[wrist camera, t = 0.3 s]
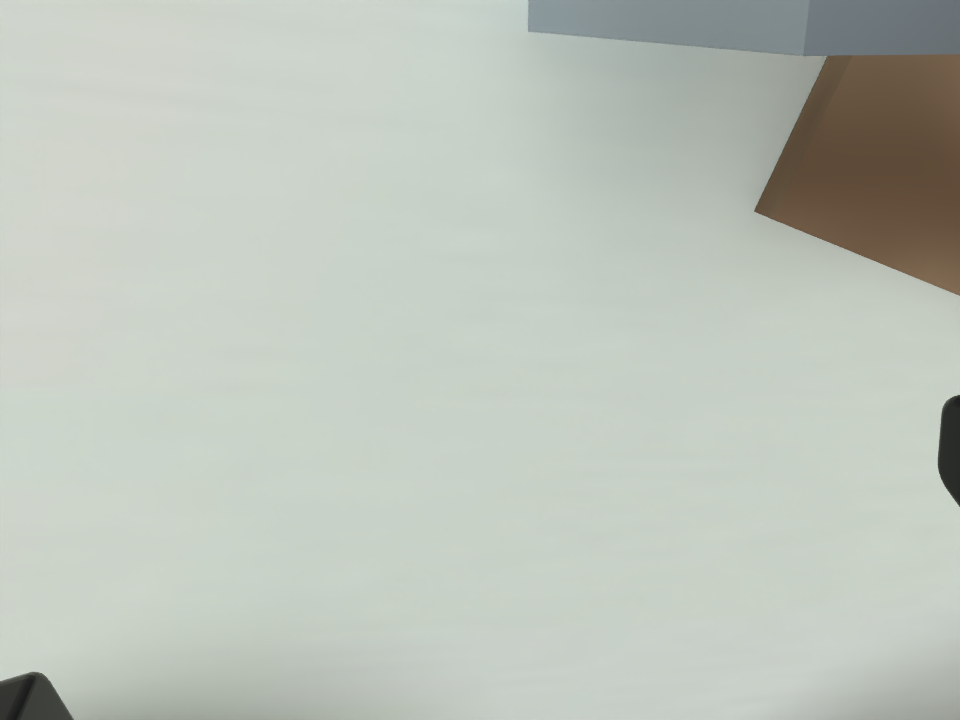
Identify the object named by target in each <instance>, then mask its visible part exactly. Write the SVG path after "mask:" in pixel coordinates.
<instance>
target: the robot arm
mask: <svg viewBox="0 0 960 720" xmlns="http://www.w3.org/2000/svg"><path fill="white" fill-rule="evenodd" d="M938 469H939V474H940V477H941V479H942V481H943V483H944V485H945V487H946V489H947V490H948V491H949V493H950V494H951V496H952V497H953V498H954V500H955V501H956V502H957V504H958V505H959V507H960V395H958V396H954V397H952V398H950V399H949V400H947V401H946V403H945V404H944V406H943V408H942V415H941V427H940V439H939V451H938ZM0 720H74V719H73V718H72V716H71V715H70V713H69V711H68V710H67V708H66V706H65V705H64V703H63V702H62V700H61V698H60V697H59V695H58V694H57V692H56V690H55V689H54V687H53V685H52V684H51V682H50V681H49V680H48V678H47V677H46V676H45V675H43V674H42V673H39V672H30V673H26V674H23V675H20V676H16V677H13V678H10V679H6V680H3V681H0Z"/></svg>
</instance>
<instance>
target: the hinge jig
mask: <svg viewBox="0 0 960 720" xmlns="http://www.w3.org/2000/svg"><path fill="white" fill-rule="evenodd" d="M754 211H755V212H757V213H759V214H762V215H764V216H766V217H769V218H771V219H773V220H776V221H778V222H781V223H783V224H786V225H788V226H790V227H793V228H795V229H798V230H800V231H803V232H805V233H808V234H810V235H813V236H815V237H817V238H820V239H822V240H825V241H827V242H830V243H832V244H835V245H837V246H839V247H842V248H844V249H847V250H849V251H852V252H854V253H857V254H859V255H861V256H864V257H866V258H869V259H871V260H874V261H876V262H879V263H881V264H884V265H886V266H888V267H891V268H893V269H896V270H898V271H901V272H903V273H906V274H908V275H910V276H913V277H915V278H918V279H920V280H923V281H925V282H928V283H930V284H933V285H935V286H937V287H940V288H942V289H945V290H947V291H950V292H952V293H955V294H957V295H959V296H960V54H936V55H835V56H828V57H827V59H826V61H825V64H824V66H823V68H822V70H821V72H820V74H819V76H818V78H817V80H816V82H815V85H814V87H813V89H812V91H811V93H810V95H809V97H808V99H807V101H806V103H805V106H804V108H803V110H802V112H801V114H800V116H799V118H798V120H797V122H796V124H795V127H794V129H793V131H792V133H791V135H790V137H789V139H788V141H787V143H786V145H785V148H784V150H783V152H782V154H781V156H780V158H779V160H778V162H777V164H776V166H775V169H774V171H773V173H772V175H771V177H770V179H769V181H768V183H767V185H766V187H765V190H764V192H763V194H762V196H761V198H760V200H759V202H758V204H757V206H756V208H755V210H754Z"/></svg>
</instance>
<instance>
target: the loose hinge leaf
mask: <svg viewBox="0 0 960 720" xmlns="http://www.w3.org/2000/svg"><path fill="white" fill-rule="evenodd" d="M528 32H539V33H551V34H562V35H573V36H585V37H596V38H607V39H619V40H630V41H641V42H652V43H664V44H675V45H686V46H698V47H709V48H720V49H732V50H743V51H754V52H766V53H777V54H788V55H800V56H835V55H936V54H960V0H529V17H528Z"/></svg>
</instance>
